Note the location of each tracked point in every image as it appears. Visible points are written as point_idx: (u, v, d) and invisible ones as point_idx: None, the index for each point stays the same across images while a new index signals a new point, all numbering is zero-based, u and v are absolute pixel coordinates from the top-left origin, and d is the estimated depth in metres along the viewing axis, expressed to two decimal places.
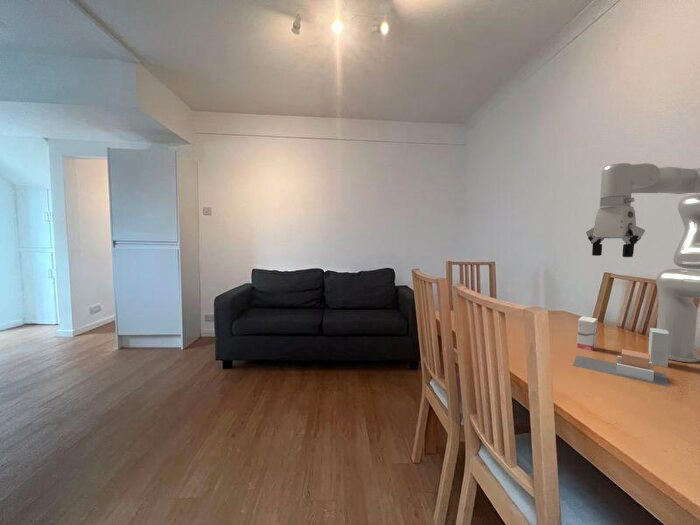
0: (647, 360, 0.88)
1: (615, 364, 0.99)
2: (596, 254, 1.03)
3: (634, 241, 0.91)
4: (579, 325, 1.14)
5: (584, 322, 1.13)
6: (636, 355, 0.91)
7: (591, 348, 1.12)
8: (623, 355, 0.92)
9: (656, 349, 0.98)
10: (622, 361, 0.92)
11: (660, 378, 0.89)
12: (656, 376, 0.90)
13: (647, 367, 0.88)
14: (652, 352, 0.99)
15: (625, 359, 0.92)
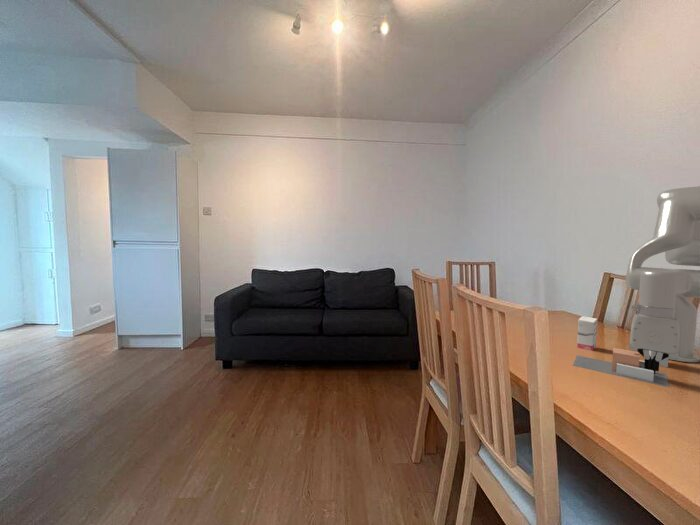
0: (637, 358, 0.90)
1: None
2: None
3: None
4: (579, 325, 1.14)
5: (584, 322, 1.13)
6: (627, 354, 0.92)
7: (591, 348, 1.12)
8: (614, 353, 0.93)
9: None
10: (613, 359, 0.93)
11: (660, 378, 0.89)
12: (656, 376, 0.90)
13: (637, 365, 0.90)
14: (652, 352, 0.99)
15: (616, 358, 0.93)
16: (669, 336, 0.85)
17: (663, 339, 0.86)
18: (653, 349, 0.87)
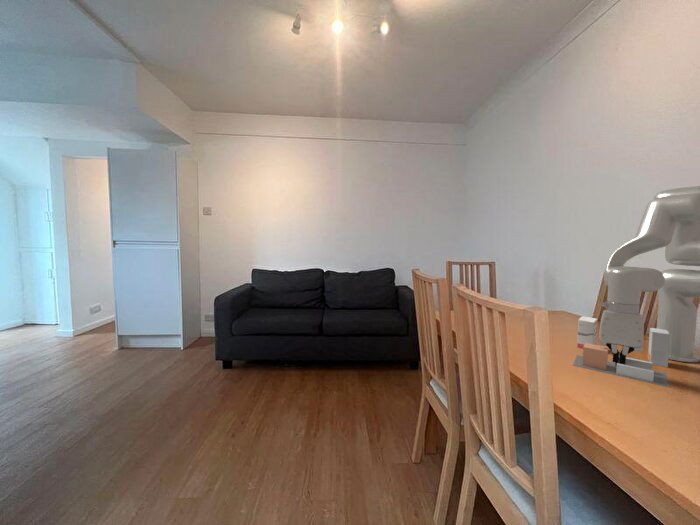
0: (606, 352, 0.94)
1: None
2: None
3: None
4: (579, 325, 1.14)
5: (584, 322, 1.13)
6: (596, 348, 0.96)
7: None
8: (584, 348, 0.98)
9: (656, 349, 0.98)
10: (584, 354, 0.98)
11: (660, 378, 0.89)
12: (656, 376, 0.90)
13: (606, 359, 0.94)
14: (652, 352, 0.99)
15: (586, 352, 0.98)
16: (634, 331, 0.90)
17: (628, 334, 0.91)
18: (620, 343, 0.92)
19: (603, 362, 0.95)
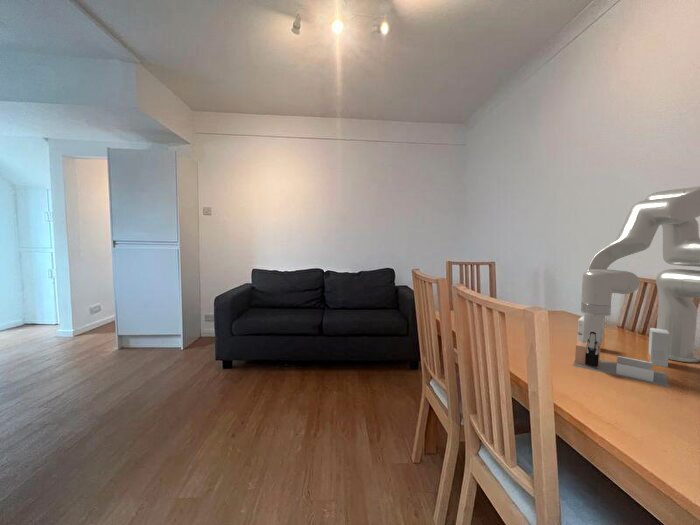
0: None
1: (615, 364, 0.99)
2: None
3: None
4: (579, 325, 1.14)
5: None
6: None
7: None
8: (577, 346, 0.99)
9: (656, 349, 0.98)
10: (576, 352, 1.00)
11: (660, 378, 0.89)
12: (656, 376, 0.90)
13: None
14: (652, 352, 0.99)
15: (578, 350, 0.99)
16: None
17: None
18: None
19: None
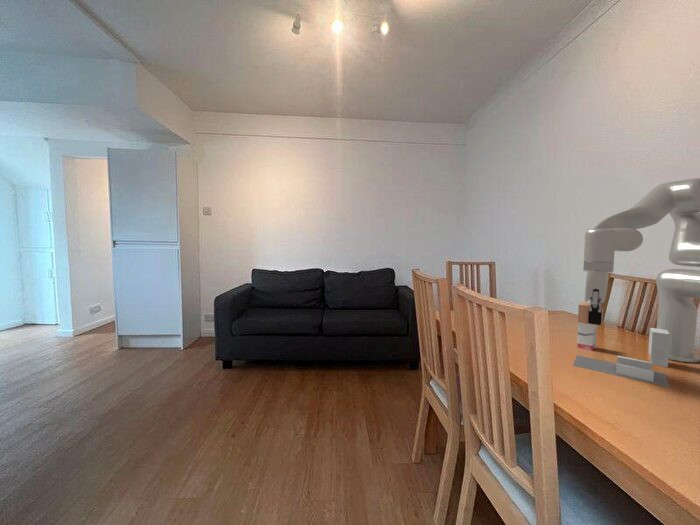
0: None
1: (615, 364, 0.99)
2: None
3: None
4: (579, 325, 1.14)
5: None
6: None
7: (591, 348, 1.12)
8: (580, 306, 0.99)
9: (656, 349, 0.98)
10: (579, 311, 0.99)
11: (660, 378, 0.89)
12: (656, 376, 0.90)
13: None
14: (652, 352, 0.99)
15: (581, 309, 0.98)
16: None
17: None
18: None
19: None
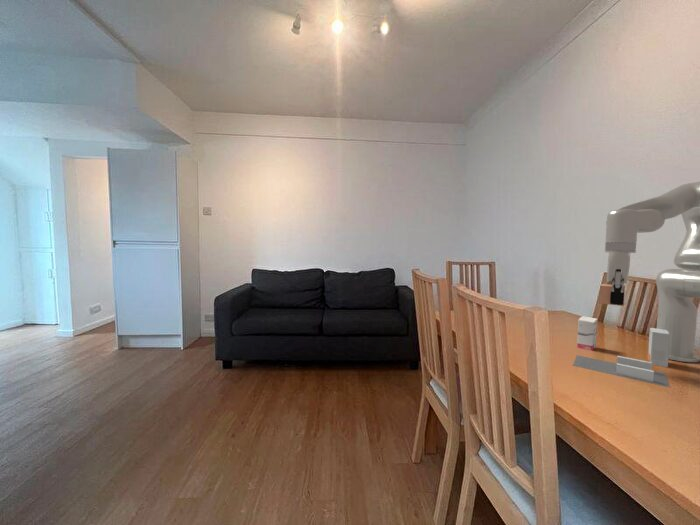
0: (623, 289, 0.96)
1: (615, 364, 0.99)
2: None
3: None
4: (579, 325, 1.14)
5: (584, 322, 1.13)
6: None
7: (591, 348, 1.12)
8: (601, 287, 0.99)
9: (656, 349, 0.98)
10: (601, 292, 0.99)
11: (660, 378, 0.89)
12: (656, 376, 0.90)
13: None
14: (652, 352, 0.99)
15: (603, 290, 0.99)
16: None
17: (607, 269, 0.99)
18: None
19: None
